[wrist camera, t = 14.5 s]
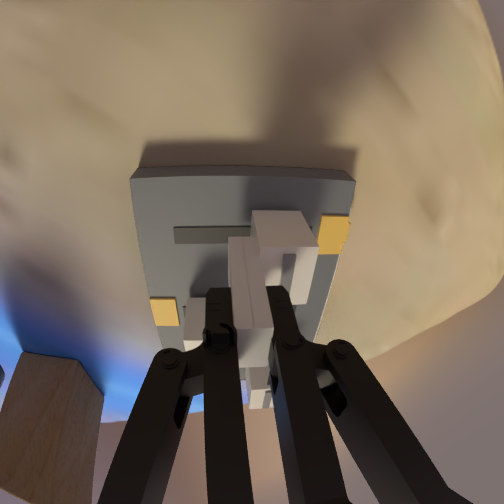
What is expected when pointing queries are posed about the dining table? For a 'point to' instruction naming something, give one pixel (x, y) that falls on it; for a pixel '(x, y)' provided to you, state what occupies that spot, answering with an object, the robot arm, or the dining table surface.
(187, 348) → the slider
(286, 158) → the dining table surface
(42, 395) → the wooden block
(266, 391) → the slider
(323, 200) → the console
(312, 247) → the slider
